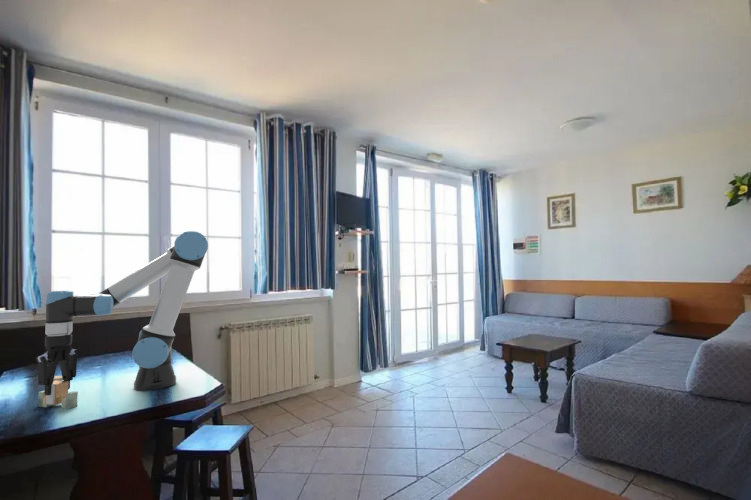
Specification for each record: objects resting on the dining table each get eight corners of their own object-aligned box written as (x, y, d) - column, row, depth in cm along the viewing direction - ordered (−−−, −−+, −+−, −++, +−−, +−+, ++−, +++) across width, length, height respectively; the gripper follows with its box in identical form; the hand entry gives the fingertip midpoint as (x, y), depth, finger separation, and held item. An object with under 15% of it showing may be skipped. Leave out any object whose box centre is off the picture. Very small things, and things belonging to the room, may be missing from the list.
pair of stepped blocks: (77, 406, 137) (77, 391, 137) (70, 408, 135) (70, 393, 135) (45, 404, 140) (45, 389, 140) (38, 406, 138) (38, 392, 138)
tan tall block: (67, 401, 139) (68, 381, 139) (55, 405, 135) (56, 384, 135) (56, 400, 140) (56, 380, 140) (44, 404, 136) (45, 383, 137)
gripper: (73, 330, 148) (72, 393, 147) (24, 338, 131) (22, 409, 130) (90, 330, 146) (88, 394, 145) (42, 338, 130) (40, 410, 128)
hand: (57, 401), depth 137 cm, fingers closed on tan tall block, 4 cm apart
